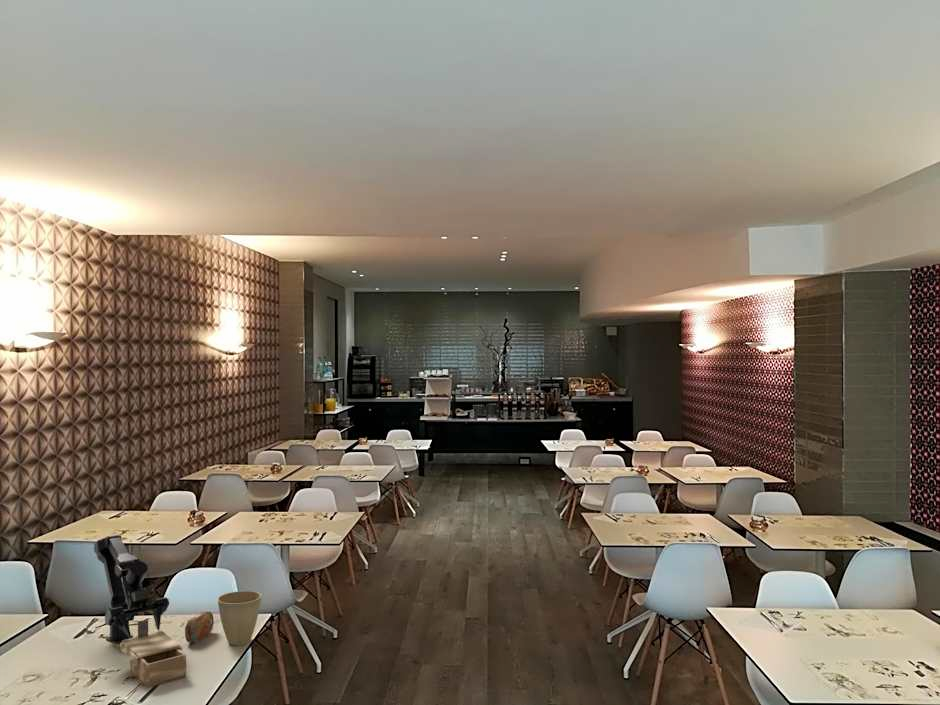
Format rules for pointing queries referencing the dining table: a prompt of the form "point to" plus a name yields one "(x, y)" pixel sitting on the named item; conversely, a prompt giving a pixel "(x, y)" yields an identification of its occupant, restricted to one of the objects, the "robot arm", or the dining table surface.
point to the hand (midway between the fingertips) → (144, 632)
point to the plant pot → (239, 615)
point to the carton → (160, 667)
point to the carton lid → (147, 643)
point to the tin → (199, 627)
